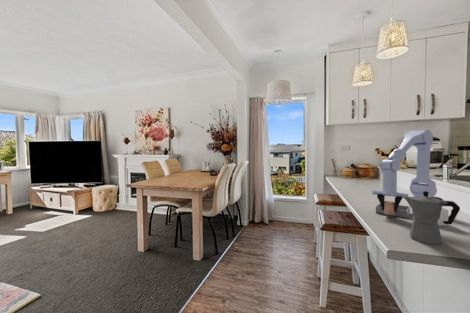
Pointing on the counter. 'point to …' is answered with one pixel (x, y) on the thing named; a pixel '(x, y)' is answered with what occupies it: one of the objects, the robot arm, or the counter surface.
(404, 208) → the bin
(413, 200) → the coffeepot
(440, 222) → the pale grey tall block
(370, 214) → the counter surface
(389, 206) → the peach rounded cylinder
